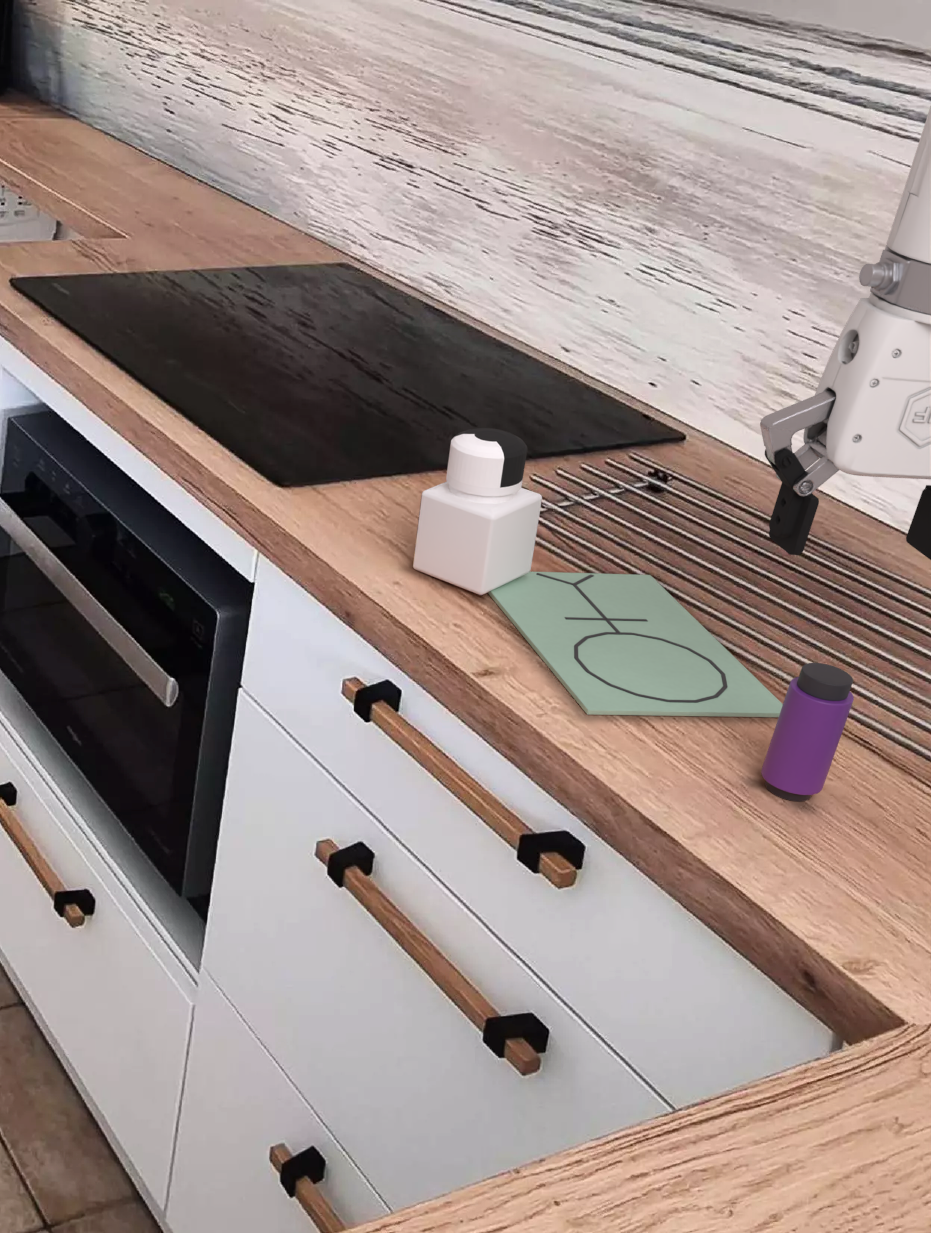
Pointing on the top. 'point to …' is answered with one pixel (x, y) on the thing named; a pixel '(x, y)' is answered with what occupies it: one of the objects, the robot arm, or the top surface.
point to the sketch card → (629, 647)
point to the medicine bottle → (479, 514)
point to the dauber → (807, 732)
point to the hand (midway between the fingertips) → (853, 549)
